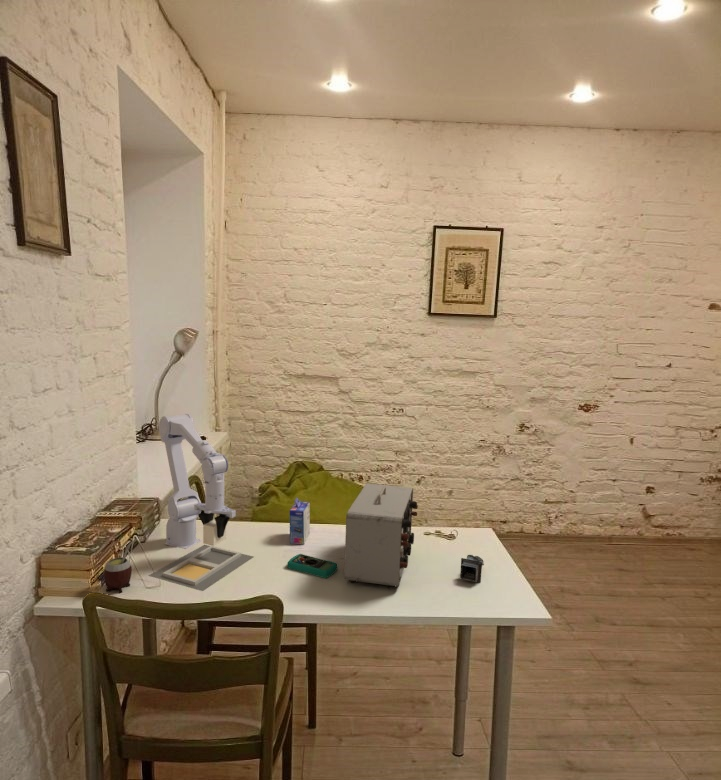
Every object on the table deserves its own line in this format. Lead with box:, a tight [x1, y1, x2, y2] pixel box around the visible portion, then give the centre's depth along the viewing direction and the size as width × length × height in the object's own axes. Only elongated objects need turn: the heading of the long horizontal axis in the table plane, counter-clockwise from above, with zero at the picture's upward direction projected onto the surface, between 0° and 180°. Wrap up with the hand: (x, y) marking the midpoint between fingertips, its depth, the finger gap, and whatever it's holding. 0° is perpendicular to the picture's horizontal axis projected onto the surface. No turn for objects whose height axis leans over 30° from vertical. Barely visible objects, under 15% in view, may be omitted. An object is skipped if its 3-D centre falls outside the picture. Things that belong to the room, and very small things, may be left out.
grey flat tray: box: [148, 544, 254, 592], centre depth 164 cm, size 20×25×2 cm
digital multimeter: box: [286, 553, 338, 579], centre depth 166 cm, size 7×15×3 cm, turn 64°
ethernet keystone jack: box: [459, 554, 485, 583], centre depth 166 cm, size 6×13×6 cm, turn 157°
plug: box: [202, 518, 227, 547], centre depth 168 cm, size 4×7×6 cm, turn 157°
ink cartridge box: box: [289, 497, 311, 545], centre depth 188 cm, size 10×6×14 cm, turn 174°
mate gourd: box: [103, 538, 138, 594], centre depth 149 cm, size 8×8×15 cm
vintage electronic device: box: [343, 483, 418, 589], centre depth 169 cm, size 32×18×25 cm, turn 168°
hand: (214, 535), depth 168 cm, fingers closed on plug, 4 cm apart
